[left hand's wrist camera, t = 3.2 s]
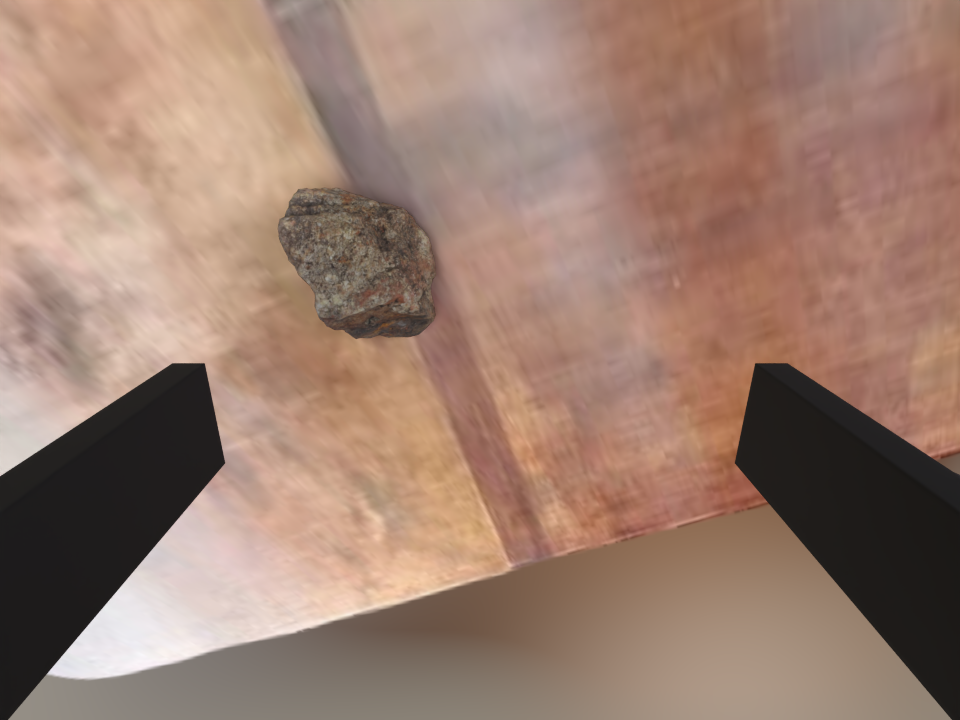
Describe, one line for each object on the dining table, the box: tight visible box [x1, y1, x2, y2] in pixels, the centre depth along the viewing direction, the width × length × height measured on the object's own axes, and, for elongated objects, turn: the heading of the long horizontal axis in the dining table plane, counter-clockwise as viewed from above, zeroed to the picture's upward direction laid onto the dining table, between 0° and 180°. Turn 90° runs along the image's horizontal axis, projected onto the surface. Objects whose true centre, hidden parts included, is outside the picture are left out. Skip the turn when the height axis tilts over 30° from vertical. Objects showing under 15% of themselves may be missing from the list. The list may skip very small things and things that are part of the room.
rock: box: [278, 188, 436, 339], centre depth 42 cm, size 14×9×10 cm
